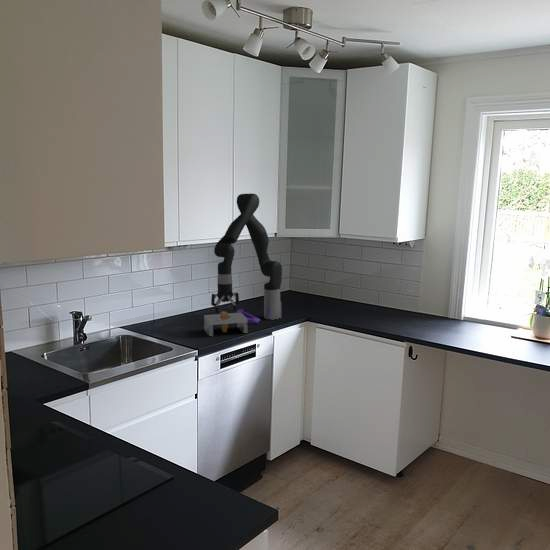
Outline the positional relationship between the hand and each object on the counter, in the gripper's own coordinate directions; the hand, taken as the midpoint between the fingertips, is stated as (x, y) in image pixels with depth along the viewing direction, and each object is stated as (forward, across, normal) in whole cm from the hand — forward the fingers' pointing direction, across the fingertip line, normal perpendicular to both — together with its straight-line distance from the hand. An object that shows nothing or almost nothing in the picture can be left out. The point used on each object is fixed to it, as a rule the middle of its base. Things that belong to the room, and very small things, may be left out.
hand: (225, 312), depth 288 cm
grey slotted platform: (+10, 0, 0) cm, 10 cm away
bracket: (+11, -17, -16) cm, 26 cm away
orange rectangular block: (+10, +1, -1) cm, 10 cm away
